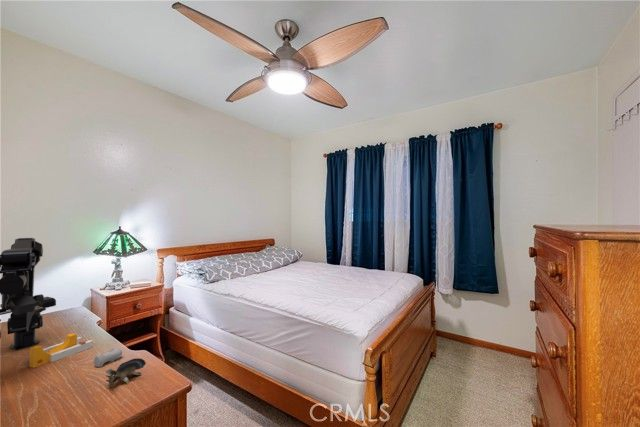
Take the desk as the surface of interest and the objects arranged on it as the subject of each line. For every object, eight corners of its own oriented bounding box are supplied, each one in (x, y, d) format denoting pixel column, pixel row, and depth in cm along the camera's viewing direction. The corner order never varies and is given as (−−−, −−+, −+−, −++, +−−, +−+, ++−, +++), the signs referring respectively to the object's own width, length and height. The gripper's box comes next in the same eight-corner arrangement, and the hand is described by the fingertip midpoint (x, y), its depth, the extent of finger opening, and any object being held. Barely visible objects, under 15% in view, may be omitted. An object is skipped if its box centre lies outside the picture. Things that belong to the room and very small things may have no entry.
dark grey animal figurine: (119, 390, 75) (150, 368, 83) (107, 368, 76) (139, 348, 84) (109, 396, 78) (140, 375, 86) (98, 375, 79) (130, 356, 87)
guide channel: (38, 356, 95) (39, 347, 95) (79, 342, 106) (79, 334, 106) (52, 362, 91) (52, 352, 91) (92, 347, 102) (93, 338, 102)
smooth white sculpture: (117, 358, 96) (125, 357, 94) (90, 369, 89) (98, 368, 87) (116, 346, 97) (123, 345, 95) (89, 356, 90) (97, 355, 88)
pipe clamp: (69, 349, 101) (69, 332, 101) (76, 351, 99) (76, 334, 100) (26, 365, 89) (27, 347, 90) (34, 368, 88) (34, 349, 88)
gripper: (-19, 298, 75) (-21, 353, 74) (64, 283, 92) (63, 328, 92) (-34, 294, 79) (-36, 345, 79) (48, 280, 96) (47, 323, 96)
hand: (14, 334), depth 86 cm, fingers open, 6 cm apart
